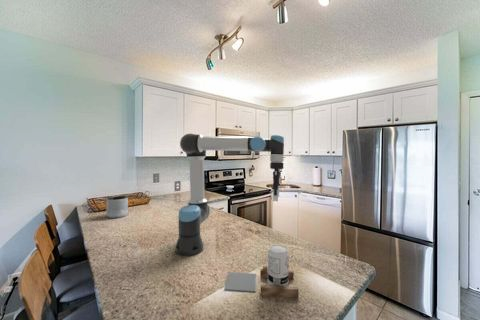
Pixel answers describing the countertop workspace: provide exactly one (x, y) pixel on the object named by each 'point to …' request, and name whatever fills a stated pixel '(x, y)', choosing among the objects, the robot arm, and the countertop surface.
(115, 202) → the planter
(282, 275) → the supplement can
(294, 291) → the cradle
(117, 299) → the countertop surface
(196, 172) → the robot arm
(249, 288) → the mat
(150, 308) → the countertop surface
